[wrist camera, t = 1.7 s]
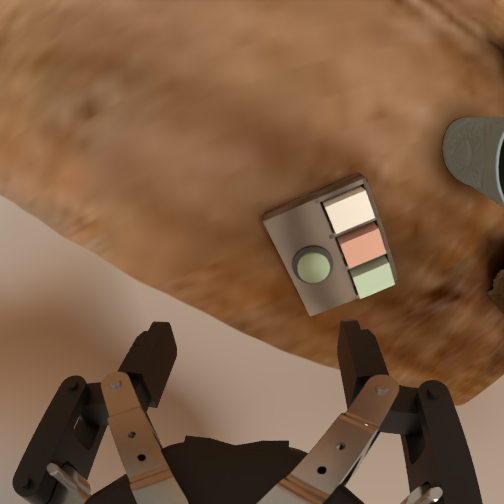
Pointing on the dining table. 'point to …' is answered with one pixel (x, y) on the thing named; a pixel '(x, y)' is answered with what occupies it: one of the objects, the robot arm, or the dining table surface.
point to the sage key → (372, 276)
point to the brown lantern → (498, 290)
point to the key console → (319, 246)
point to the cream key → (348, 209)
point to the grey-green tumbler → (477, 154)
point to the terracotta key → (361, 244)
